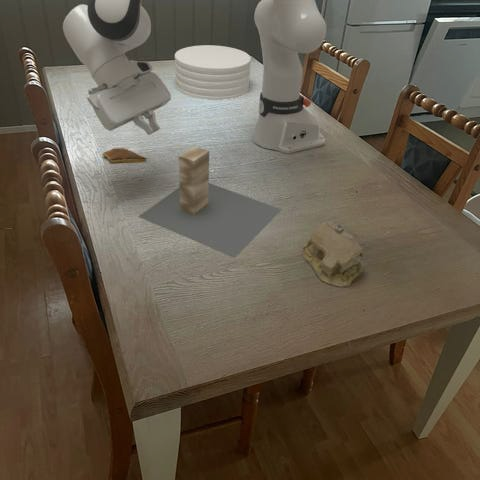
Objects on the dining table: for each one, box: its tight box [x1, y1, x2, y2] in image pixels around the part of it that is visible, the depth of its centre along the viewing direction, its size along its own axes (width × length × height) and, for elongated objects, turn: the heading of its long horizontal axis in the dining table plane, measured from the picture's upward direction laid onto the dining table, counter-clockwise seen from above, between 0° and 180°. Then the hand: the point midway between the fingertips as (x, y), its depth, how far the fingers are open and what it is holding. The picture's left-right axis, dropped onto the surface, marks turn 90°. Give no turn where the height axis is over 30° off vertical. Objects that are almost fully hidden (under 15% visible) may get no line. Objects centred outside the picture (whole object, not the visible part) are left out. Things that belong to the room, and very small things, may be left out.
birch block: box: [178, 145, 210, 214], centre depth 107 cm, size 4×6×14 cm, turn 150°
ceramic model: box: [302, 220, 366, 288], centre depth 95 cm, size 14×11×10 cm
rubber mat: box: [137, 182, 282, 258], centre depth 110 cm, size 26×22×1 cm
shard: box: [102, 146, 148, 164], centre depth 128 cm, size 11×8×2 cm
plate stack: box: [174, 44, 252, 101], centre depth 175 cm, size 28×28×12 cm
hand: (154, 131), depth 106 cm, fingers closed
